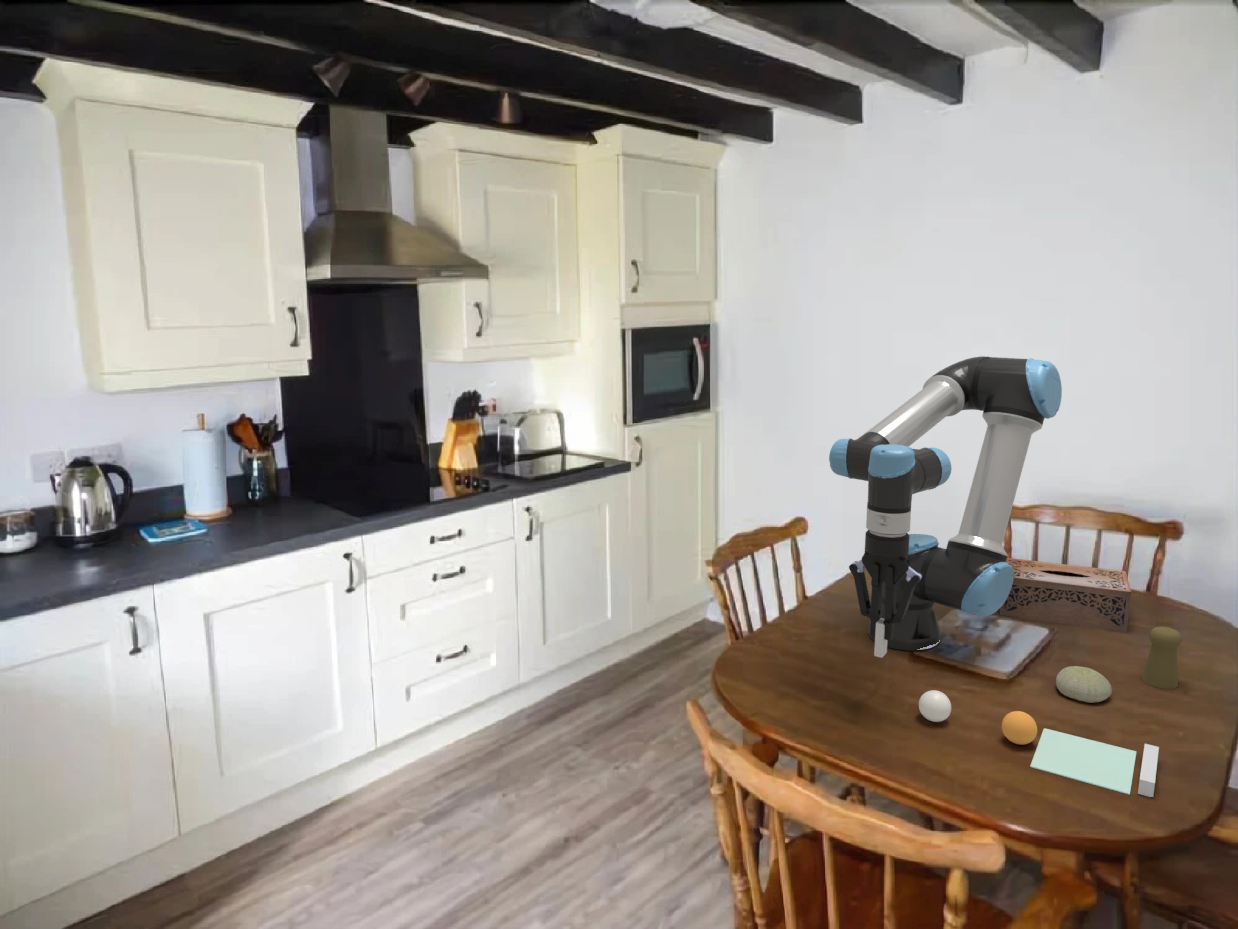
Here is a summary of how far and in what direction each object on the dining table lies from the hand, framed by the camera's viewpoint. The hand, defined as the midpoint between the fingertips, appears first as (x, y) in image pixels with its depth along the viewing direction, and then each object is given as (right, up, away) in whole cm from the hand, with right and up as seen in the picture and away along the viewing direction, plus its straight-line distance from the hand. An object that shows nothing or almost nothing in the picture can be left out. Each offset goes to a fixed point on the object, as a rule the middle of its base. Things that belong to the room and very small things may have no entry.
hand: (880, 654), depth 155 cm
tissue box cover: (+56, 0, +43) cm, 71 cm away
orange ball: (+20, -10, -11) cm, 25 cm away
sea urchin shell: (+40, -9, +5) cm, 42 cm away
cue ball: (+9, -9, -4) cm, 13 cm away
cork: (+58, -8, +9) cm, 59 cm away
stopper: (+36, -15, -21) cm, 44 cm away
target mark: (+29, -14, -16) cm, 36 cm away
